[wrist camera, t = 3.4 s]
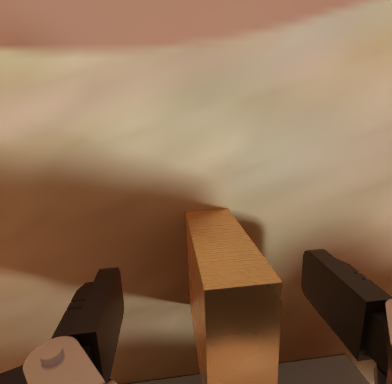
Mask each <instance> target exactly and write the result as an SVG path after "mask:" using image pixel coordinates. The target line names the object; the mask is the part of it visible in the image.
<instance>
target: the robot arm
mask: <svg viewBox="0 0 392 384" xmlns="http://www.w3.org/2000/svg"><path fill="white" fill-rule="evenodd" d="M301 285H302V290H303V293H304V295H305V296H306V298H307V299H308V300H309V302H310V303H311V304H312V305H313V306H314V308H315V309H316V310H317V311H318V313H319V314H320V315H321V316H322V317H323V319H324V320H325V321H326V322H327V324H328V325H329V326H330V327H331V329H332V330H333V331H334V332H335V333H336V335H337V336H338V337H339V338H340V340H341V341H342V342H343V343H344V345H345V346H346V347H347V348H348V349H349V351H350V352H351V353H352V354H353V356H354V357H355V358H356V359H357V361H361V360H368V359H373V360H374V361H375V368H374V378H375V384H392V297H391V296H390V295H389V294H387V293H386V292H385V291H383V290H382V289H381V288H379V287H378V286H377V285H375V284H374V283H373V282H372V281H370V280H367V278H366V277H365V276H364V275H362V274H361V273H359V272H358V271H357V270H356V269H355V268H353V267H352V266H351V265H349V264H347V263H345V262H342V261H340V260H338V259H336V258H334V257H333V256H332V255H331V254H329V253H328V252H327V251H326V250H324V249H318V250H307V251H305V252H304V255H303V266H302V280H301ZM123 313H124V300H123V292H122V284H121V276H120V270H119V268H118V267H116V268H105V269H99V271H98V273H97V275H96V278H95V280H94V282H88V283H85V284H84V285H83V286H82V287H80V288H79V289H78V290H77V291H76V293H75V295H74V296H73V298H72V300H71V303H70V304H69V306H68V308H67V311H66V312H65V314H64V315H63V317H62V319H61V321H60V323H59V325H58V327H57V329H56V331H55V333H54V334H53V336H52V338H51V339H50V340H48V341H46V342H44V343H42V344H40V345H39V346H38V347H36V348H35V349H34V350H33V351H32V352H31V353H30V354H29V355H28V356H27V358H26V360H25V361H24V364H23V365H22V366H20V367H17V368H15V369H12V370H9V371H6V372H4V373H1V374H0V384H117V383H116V382H115V381H114V380H113V379H110V375H111V370H112V365H113V361H114V356H115V351H116V347H117V342H118V337H119V333H120V328H121V323H122V319H123ZM109 379H110V380H109Z"/></svg>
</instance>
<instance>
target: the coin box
mask: <svg viewBox="0 0 392 384" xmlns="http://www.w3.org/2000/svg"><path fill="white" fill-rule="evenodd" d="M131 384H201V377H200V374H197V375H190V376H182V377H175V378H168V379H160V380H153V381H145V382H138V383H131ZM277 384H369V383H368V381H367V380H366V379H365V377H364V376H363V375H362V374H361V372H360V371H359V370H358V369H357V367H356V366H355V365H354V363H353V362H352V361H351V360H350V358H349V357H348V356H347V355H338V356H331V357H323V358H316V359H309V360H301V361H294V362H286V363H279V364H278V381H277Z"/></svg>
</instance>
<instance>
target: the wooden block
mask: <svg viewBox="0 0 392 384" xmlns="http://www.w3.org/2000/svg"><path fill="white" fill-rule="evenodd" d="M186 228H187V248H188V268H189V289H190V306H191V313H192V320H193V327H194V334H195V341H196V349H197V356H198V363H199V370H200V377H201V384H277V381H278V362H279V344H280V325H281V306H282V287H283V282H282V281H281V279H280V278H279V276H278V275H277V274H276V272H275V271H274V270H273V268H272V267H271V266H270V264H269V263H268V262H267V260H266V259H265V258H264V256H263V255H262V254H261V252H260V251H259V250H258V248H257V247H256V245H255V244H254V243H253V241H252V240H251V239H250V237H249V236H248V235H247V233H246V232H245V231H244V229H243V228H242V227H241V225H240V224H239V223H238V221H237V220H236V219H235V217H234V216H233V214H232V213H231V212H230V210H229V209H215V210H202V211H188V212H186Z"/></svg>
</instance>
